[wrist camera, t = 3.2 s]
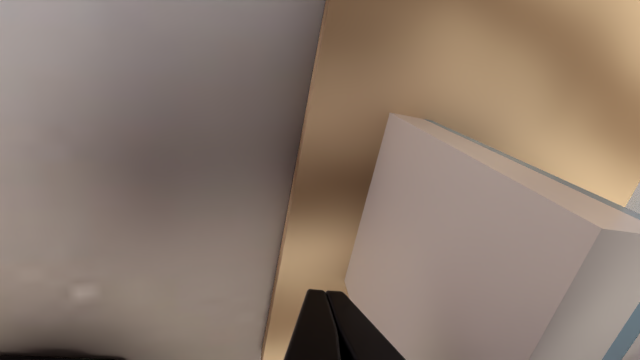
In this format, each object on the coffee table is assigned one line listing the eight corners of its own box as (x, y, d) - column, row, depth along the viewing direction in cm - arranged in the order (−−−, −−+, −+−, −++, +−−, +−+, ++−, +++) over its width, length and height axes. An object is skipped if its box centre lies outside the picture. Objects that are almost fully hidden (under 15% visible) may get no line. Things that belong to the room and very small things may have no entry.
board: (513, 361, 21) (526, 379, 20) (261, 351, 18) (260, 371, 17) (695, 23, 14) (730, 20, 13) (341, -84, 11) (348, -98, 10)
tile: (380, 283, 16) (495, 543, 8) (344, 280, 15) (423, 548, 7) (431, 120, 13) (701, 242, 5) (389, 112, 13) (601, 228, 4)
